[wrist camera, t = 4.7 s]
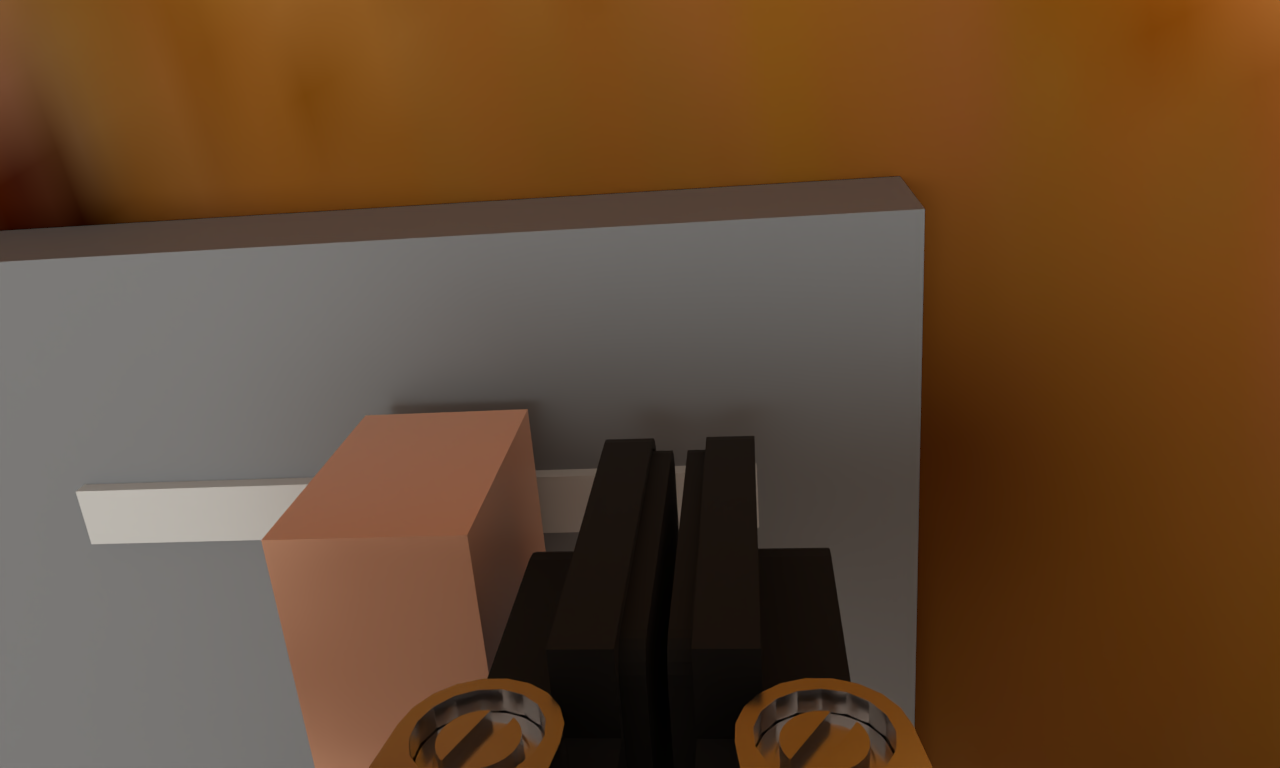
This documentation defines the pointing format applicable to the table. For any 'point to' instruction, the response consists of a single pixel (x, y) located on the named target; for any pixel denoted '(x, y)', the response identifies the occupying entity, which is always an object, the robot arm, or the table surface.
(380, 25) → the table surface
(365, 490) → the slide paddle
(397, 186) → the table surface
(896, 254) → the switch panel
